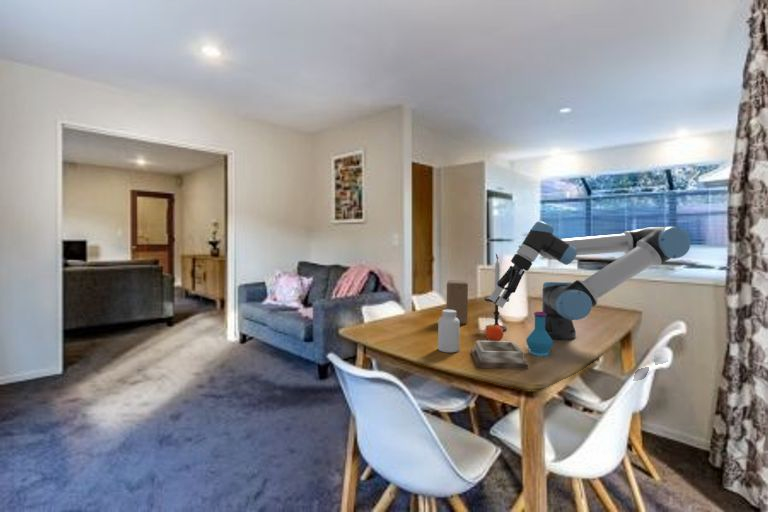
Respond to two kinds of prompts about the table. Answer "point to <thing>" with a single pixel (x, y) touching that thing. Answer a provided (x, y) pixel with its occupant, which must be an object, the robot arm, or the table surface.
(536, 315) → the perfume bottle
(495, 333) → the red round lump
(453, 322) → the pill bottle
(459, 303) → the wooden block
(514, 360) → the bottle stand
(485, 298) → the candlestick
